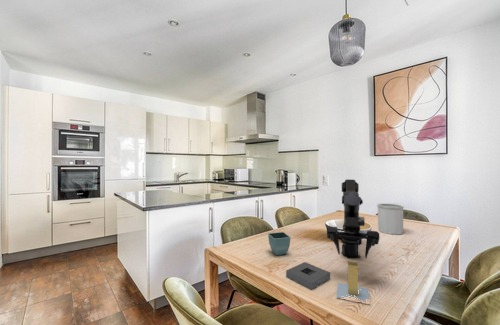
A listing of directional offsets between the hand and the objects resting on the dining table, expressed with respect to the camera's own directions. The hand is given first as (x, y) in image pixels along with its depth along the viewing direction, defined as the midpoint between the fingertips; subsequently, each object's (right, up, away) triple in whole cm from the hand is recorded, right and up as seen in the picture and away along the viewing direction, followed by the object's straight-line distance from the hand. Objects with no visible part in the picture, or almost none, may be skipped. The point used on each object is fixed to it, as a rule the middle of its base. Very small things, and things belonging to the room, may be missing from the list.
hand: (352, 255), depth 85 cm
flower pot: (-24, -10, +28) cm, 39 cm away
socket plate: (-15, -10, +4) cm, 19 cm away
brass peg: (-3, -10, -7) cm, 12 cm away
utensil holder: (+53, -10, +64) cm, 84 cm away
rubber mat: (-3, -10, -7) cm, 13 cm away
